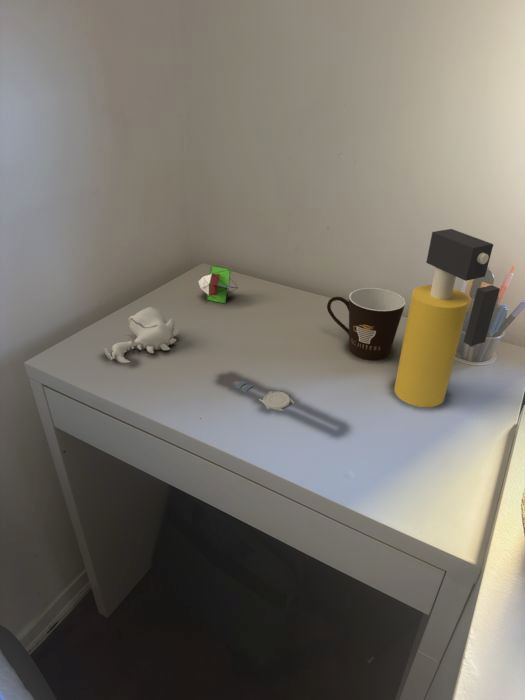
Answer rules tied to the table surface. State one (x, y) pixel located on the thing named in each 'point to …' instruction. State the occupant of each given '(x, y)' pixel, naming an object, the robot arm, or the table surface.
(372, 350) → the coffee mug
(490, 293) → the trigger
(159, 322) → the toy character
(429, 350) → the spray bottle
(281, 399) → the wristwatch
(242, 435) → the table surface
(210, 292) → the geometric puzzle
